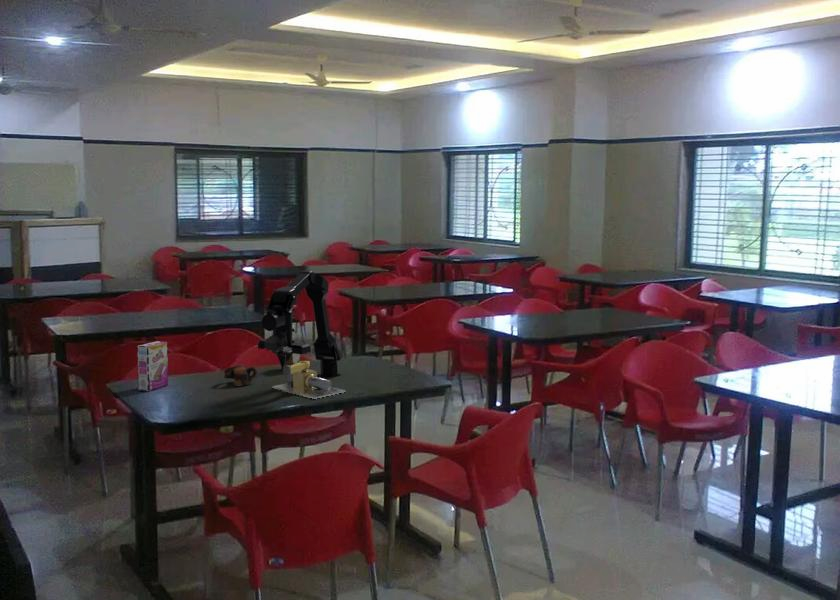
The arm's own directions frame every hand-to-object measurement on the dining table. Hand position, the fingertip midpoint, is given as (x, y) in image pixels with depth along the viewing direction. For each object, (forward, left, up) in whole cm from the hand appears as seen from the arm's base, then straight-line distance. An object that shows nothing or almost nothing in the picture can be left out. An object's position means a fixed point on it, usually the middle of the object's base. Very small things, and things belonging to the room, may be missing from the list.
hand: (283, 370), depth 295 cm
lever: (0, +5, -1) cm, 5 cm away
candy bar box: (-43, -26, -9) cm, 51 cm away
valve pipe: (+1, +10, -9) cm, 13 cm away
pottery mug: (-26, 0, -9) cm, 28 cm away
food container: (-34, +28, -9) cm, 45 cm away
